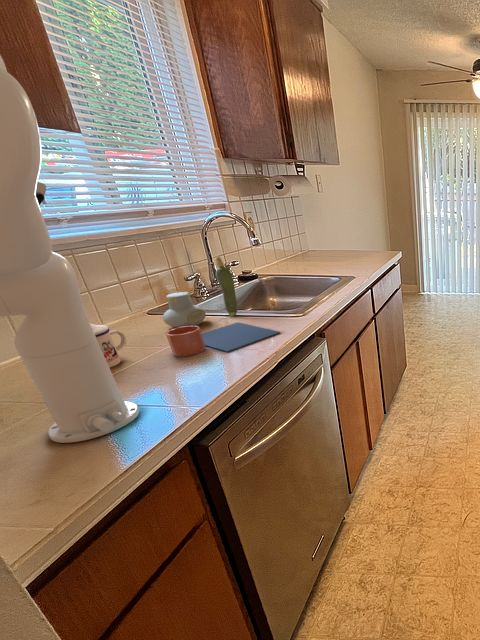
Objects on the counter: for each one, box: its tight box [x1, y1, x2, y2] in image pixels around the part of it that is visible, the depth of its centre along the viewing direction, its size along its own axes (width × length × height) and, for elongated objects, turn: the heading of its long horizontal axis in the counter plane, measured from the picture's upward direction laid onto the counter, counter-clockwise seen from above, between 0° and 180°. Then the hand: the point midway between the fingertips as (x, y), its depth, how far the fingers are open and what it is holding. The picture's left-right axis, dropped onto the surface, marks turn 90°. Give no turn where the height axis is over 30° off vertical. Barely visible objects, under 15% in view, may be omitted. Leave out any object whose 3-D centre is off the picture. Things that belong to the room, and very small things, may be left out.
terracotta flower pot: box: [165, 325, 206, 357], centre depth 105 cm, size 7×7×6 cm
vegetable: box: [215, 255, 238, 317], centre depth 130 cm, size 4×4×20 cm
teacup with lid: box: [90, 323, 127, 369], centre depth 97 cm, size 12×9×12 cm
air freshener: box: [162, 291, 207, 328], centre depth 123 cm, size 11×8×10 cm
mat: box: [201, 322, 281, 353], centre depth 115 cm, size 20×16×1 cm
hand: (4, 233), depth 76 cm, fingers open, 9 cm apart
